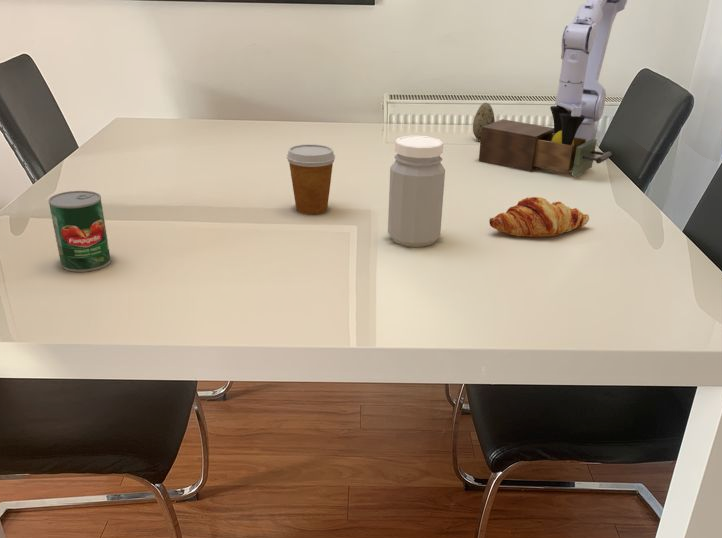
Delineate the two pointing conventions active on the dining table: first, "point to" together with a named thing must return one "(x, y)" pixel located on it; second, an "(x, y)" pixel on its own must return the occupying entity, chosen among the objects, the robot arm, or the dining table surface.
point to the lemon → (559, 138)
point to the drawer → (567, 155)
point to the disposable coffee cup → (311, 176)
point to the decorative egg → (482, 119)
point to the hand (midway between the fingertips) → (562, 141)
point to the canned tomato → (80, 230)
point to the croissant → (538, 218)
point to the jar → (416, 191)
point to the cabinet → (511, 144)
